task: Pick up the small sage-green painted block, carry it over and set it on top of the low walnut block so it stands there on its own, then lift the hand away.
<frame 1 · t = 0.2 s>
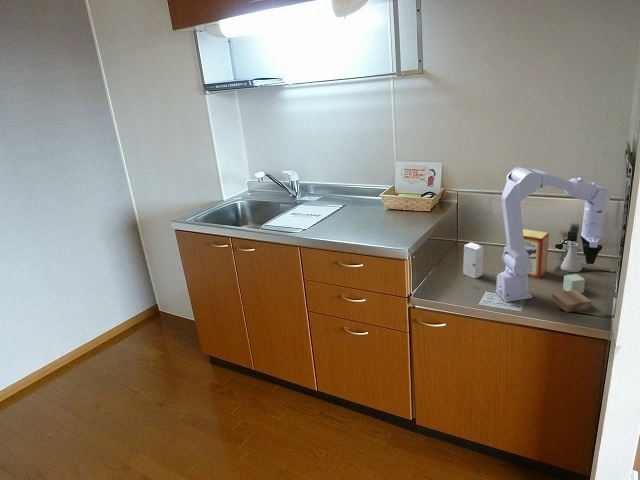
hand: (588, 258, 156), 10 cm above the countertop, tool pointing down, fingers open, 7 cm apart
skincare box: (473, 275, 177), on the countertop
baking soda box: (529, 272, 173), on the countertop
walnut block: (570, 305, 150), on the countertop
flask: (571, 269, 172), on the countertop
sage block: (573, 290, 158), on the countertop
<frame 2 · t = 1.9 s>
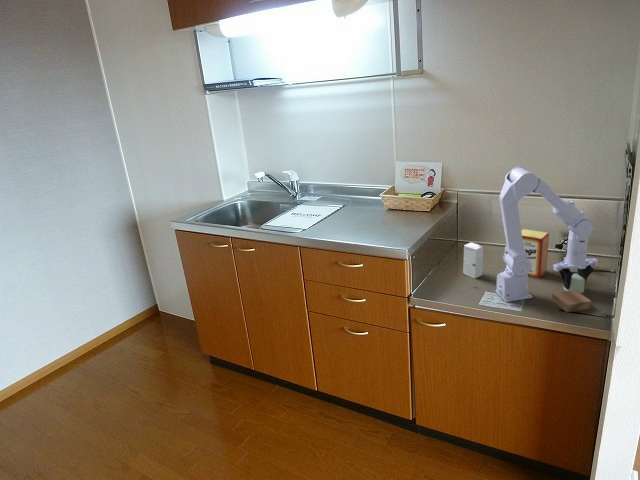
hand: (573, 286, 157), 1 cm above the countertop, tool pointing down, fingers closed on sage block, 4 cm apart
sage block: (573, 290, 158), on the countertop, touching gripper
everything else where it was.
when the fingers open (6 cm above the countertop, at t = 5.5 s): sage block drops 2 cm, point 3 cm above the countertop.
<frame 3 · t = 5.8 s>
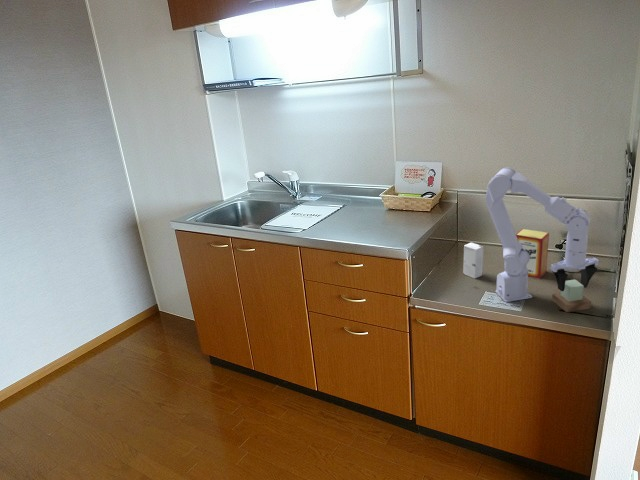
hand: (572, 288, 148), 6 cm above the countertop, tool pointing down, fingers open, 7 cm apart
sage block: (571, 297, 149), point 3 cm above the countertop
everything else where it was.
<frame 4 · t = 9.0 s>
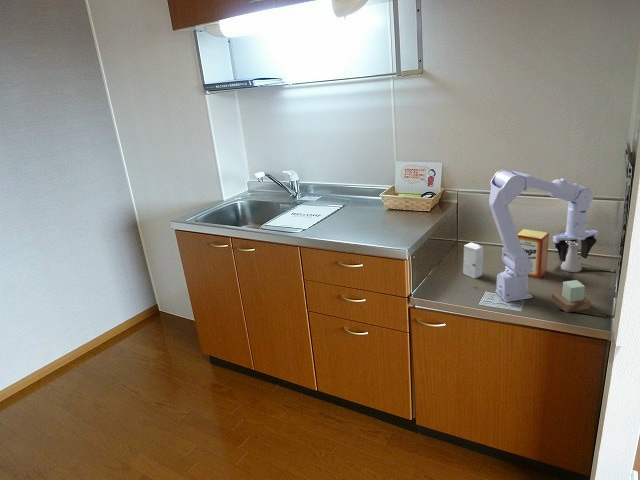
hand: (573, 258, 157), 10 cm above the countertop, tool pointing down, fingers open, 7 cm apart
walnut block: (570, 305, 150), on the countertop, touching sage block
sage block: (572, 297, 149), point 3 cm above the countertop, touching walnut block
everything else where it was.
at the end: sage block 0.4 cm off-centre on the walnut block, point 3.0 cm above the walnut block's base; sage block tilted 1°; the gripper is holding nothing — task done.
